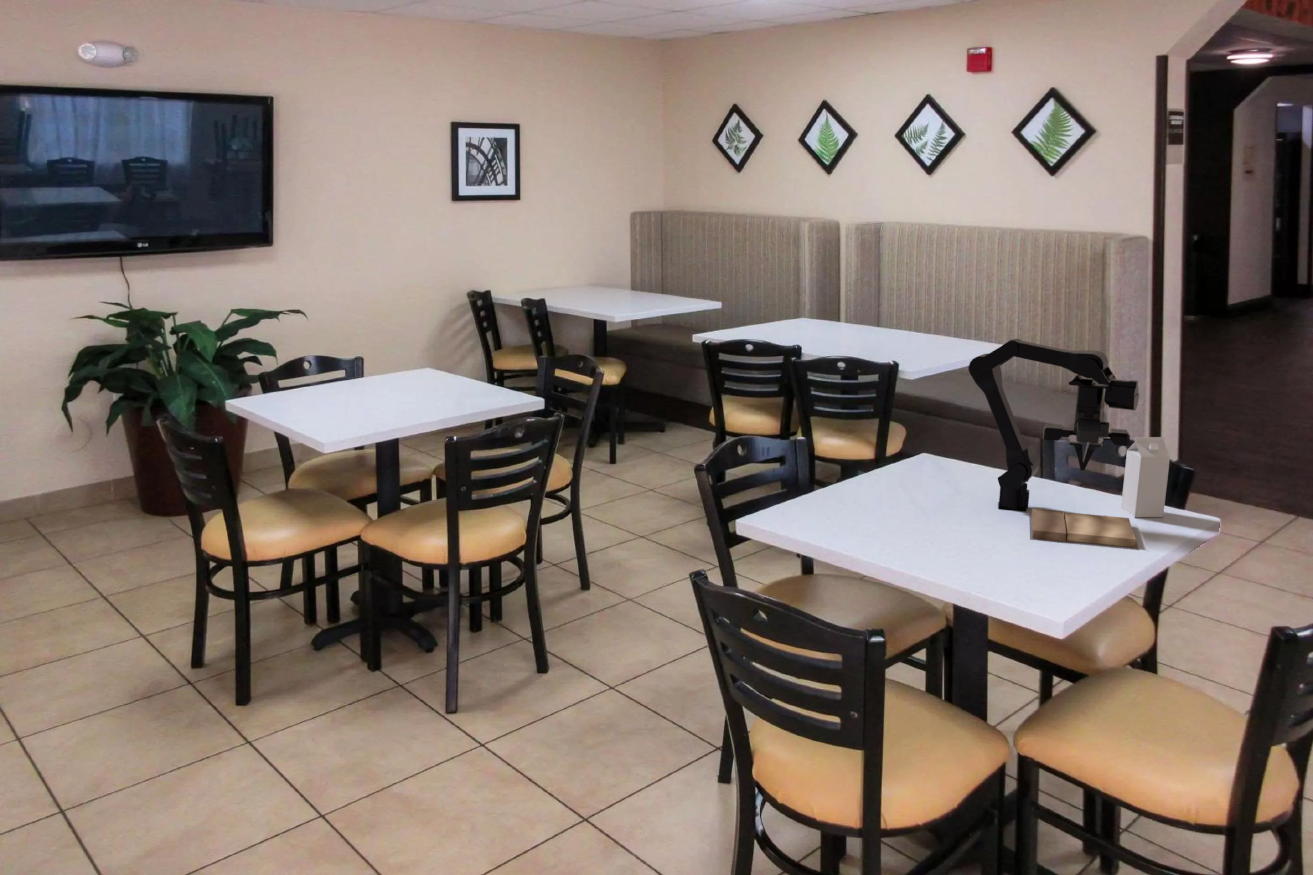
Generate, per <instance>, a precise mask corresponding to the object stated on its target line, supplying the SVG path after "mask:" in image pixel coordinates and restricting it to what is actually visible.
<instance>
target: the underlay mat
mask: <svg viewBox="0 0 1313 875" xmlns="http://www.w3.org/2000/svg"><path fill="white" fill-rule="evenodd" d="M1028 518H1029V519H1028V520H1029V540H1031V541H1040V542H1049V543H1050V542H1052V543H1062V544H1071V545H1080V546H1081V545H1082V546H1092V547H1101V548H1112V549H1122V550H1123V549H1124V550H1135V551H1140V548H1139V546H1138V545H1139V544H1138V542H1137V541H1136V542H1135V547H1127V546H1117V545H1107V544H1097V543H1086V542H1076V541H1067V537H1066V542H1065V541H1055V540H1044V539H1034V538H1032V514H1029V517H1028Z"/></svg>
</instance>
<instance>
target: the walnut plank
mask: <svg viewBox="0 0 1313 875" xmlns="http://www.w3.org/2000/svg"><path fill="white" fill-rule="evenodd" d="M1031 515H1032V538H1034V539H1044V540H1055V541H1065V542H1066V527H1065V520H1064V515H1065V512H1064V511H1062V510H1053V509H1052V510H1050V509H1049V510H1048V509H1041V508H1040V509H1039V508H1031Z"/></svg>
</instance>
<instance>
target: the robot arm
mask: <svg viewBox="0 0 1313 875" xmlns="http://www.w3.org/2000/svg"><path fill="white" fill-rule="evenodd" d="M1013 358H1019V359H1024V360H1028V361H1033V362H1037V363H1043V364H1048V365H1052V366H1057V367H1060V368H1064V369H1066V370H1068V371H1069V372H1071V373H1074V374H1076V375H1075V377H1074V378H1073V379H1072V380H1070V381H1068V385H1069V386H1076V387H1077V388H1076V398H1075V411H1074V420H1073V429H1069V428H1068V429H1066V428H1063V426H1062V424H1054V423H1053V424H1052V423H1051V424H1050V423H1046V424H1045V425H1044V426H1043V432H1042V433H1043V434H1042V435H1043V440H1045V441H1056V442H1057V441H1059V440H1061V439H1062V438H1068V439H1067V441H1068V445H1070V446H1073V448H1074V450H1075V453H1076V456H1077V461H1078V465H1079V469H1080V471H1082V472H1085V470H1086V468H1087V466H1088V463H1089V462H1090V460H1091V458H1092V456H1093V454H1094V452H1095V451H1096V450H1097V449H1098V448H1102V447H1103V442H1104V441H1111V443H1112V444H1113V445H1114V446H1123V447H1124V446H1125V447H1128V446H1129V447H1130V443H1131V442H1130V441H1131V435H1130V433H1129V431H1128V430H1127V429H1122V428H1121V429H1120V428H1110V422H1107V421H1101V419H1102V412H1103V411H1102V409H1103V402H1104V404H1105V405H1106V406H1108V408H1109V409H1116V410H1118V409H1119V410H1125V411H1134V412H1135V411H1136V410H1137V409H1138V406H1139V405H1138V404H1139V400H1140V399H1139V398H1140V393H1139V381H1138V380H1135V379H1132V380H1131V379H1129V380H1126V379H1124V380H1123V379H1117V378H1116V376H1115V374H1114V373H1113V371H1112V370H1111V368H1110V366H1109V359H1108V357H1107V355H1105V353H1104V352H1103V351H1099V350H1087V349H1086V350H1084V349H1081V350H1078V349H1077V350H1076V349H1075V350H1071V349H1070V350H1068V349H1063V348H1059V347H1053V346H1050V345H1044V344H1040V343H1036V342H1035V343H1034V342H1030V341H1024V340H1021V339H1019V338H1012V339H1009V340H1006V342H1004V344H1002V345H1001V346H999V347H997V348H995V349H994V350H992V351H991V352H989V353H983V354H981V355H978V356H976V357H974V358H972V359H971V360H970V362H969V364H968V372H969V374H970V376H971V378H972V380H973V381H974V383H975V385H976V386H977V387H978V388H979V389H980V390H981V392H982V393H983V394H984V396H985V398H986V401H987V404H988V407H989V409H990V411H991V414H992V416H993V420H994V422H995V425H996V427H997V429H998V432H999V435H1000V437H1001V439H1002V442H1003V445H1004V448H1005V449H1004V450H1005V464H1006V467H1007V470H1006V471H1005V472H1004V473H1002V474H1001V475H1000V476H998V477H997V482H998V485H999V498H998V502H997V509H998V510H1003V511H1012V512H1014V511H1015V512H1022V513H1023V512H1027V509H1028V508H1029V502H1030V501H1029V499H1030V489H1028V483H1027V482H1029V481H1030V479H1031V478H1032V477H1033V476H1035V475H1036V474H1037V473H1038V471H1039V468H1040V464H1039V463H1040V461H1041V458H1040V457H1039V456H1038V454H1037V451H1036V447H1035V445H1034V444H1032V445H1030V446H1028V445H1027V443H1026V442H1025V441H1024V439H1023V435H1021V432H1020V429H1019V427H1018V424H1017V421H1016V419H1015V416H1014V414H1013V412H1012V408H1011V406H1010V404H1009V401H1008V399H1007V396H1006V393H1005V391H1004V388H1003V374H1002V368H1001V366H1003V365H1004V364H1005V363H1007V362H1009V361H1010V360H1011V359H1013ZM1104 390H1105V392H1104ZM1103 398H1104V399H1103ZM1083 443H1086V447H1085V451H1084V454H1083ZM1083 455H1084V456H1083Z"/></svg>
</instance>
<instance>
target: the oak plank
mask: <svg viewBox="0 0 1313 875" xmlns="http://www.w3.org/2000/svg"><path fill="white" fill-rule="evenodd" d="M1064 520H1065V527H1066V537H1067V541H1076V542H1086V543H1097V544H1107V545H1117V546H1127V547H1135V542H1137V539H1136V536H1135V533H1134V531H1133V530H1134V529H1133V527H1132V525H1131V521H1130V518H1129V517H1121V516H1109V515H1099V514H1089V513H1088V514H1087V513H1077V512H1066V511H1065V512H1064Z"/></svg>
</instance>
